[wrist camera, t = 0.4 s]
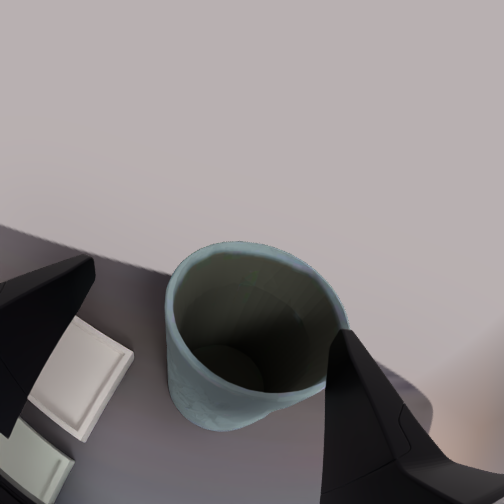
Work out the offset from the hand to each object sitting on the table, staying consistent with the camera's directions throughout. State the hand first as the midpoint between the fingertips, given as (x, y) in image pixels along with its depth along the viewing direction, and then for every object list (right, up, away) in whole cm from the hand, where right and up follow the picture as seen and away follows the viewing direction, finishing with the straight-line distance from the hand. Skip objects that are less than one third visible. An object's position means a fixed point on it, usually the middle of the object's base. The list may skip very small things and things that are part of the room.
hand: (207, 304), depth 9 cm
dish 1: (-17, -15, 0) cm, 22 cm away
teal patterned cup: (-1, -10, +13) cm, 16 cm away
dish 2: (-14, -8, +9) cm, 18 cm away
